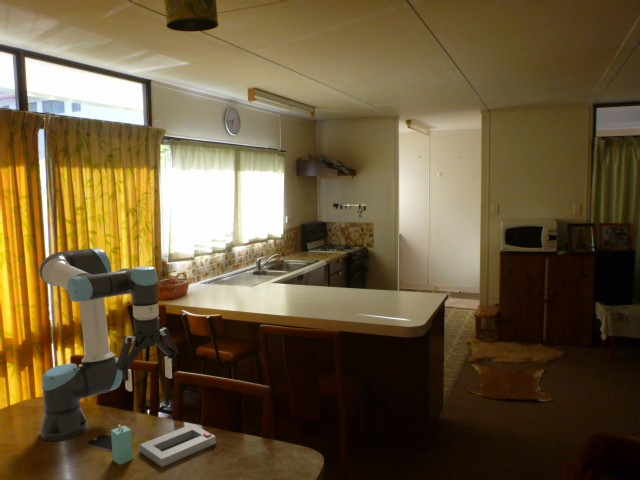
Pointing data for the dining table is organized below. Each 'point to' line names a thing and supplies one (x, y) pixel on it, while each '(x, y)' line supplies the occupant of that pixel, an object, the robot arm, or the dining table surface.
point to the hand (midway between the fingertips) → (149, 383)
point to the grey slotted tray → (177, 445)
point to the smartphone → (101, 442)
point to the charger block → (121, 444)
